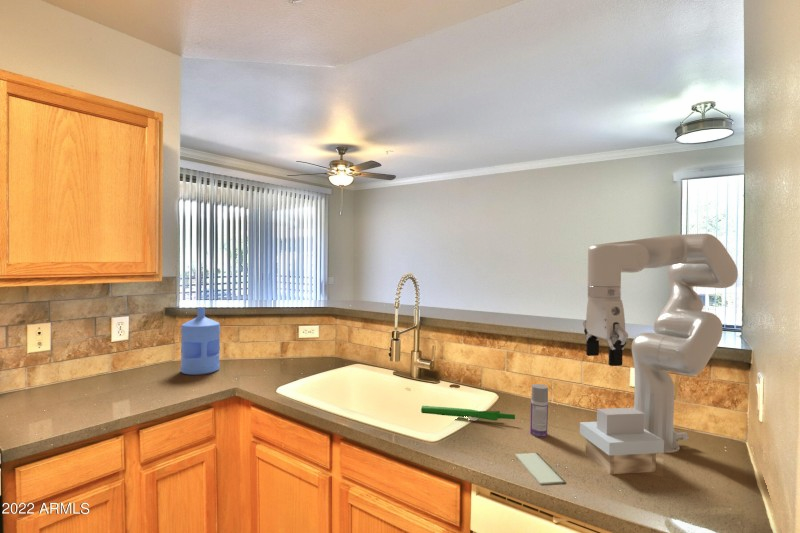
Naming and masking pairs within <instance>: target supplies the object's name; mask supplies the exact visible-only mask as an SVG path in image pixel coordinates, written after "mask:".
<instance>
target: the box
mask: <svg viewBox="0 0 800 533" xmlns="http://www.w3.org/2000/svg"><path fill="white" fill-rule="evenodd" d="M584 453H585V456H587V457H588V458H590V460H592V461H593V462H594V463H596V464H597V465H598V466H599V467H600V468H602V469H603V470H604V471H605V472H607V473H608V474H609V475H616V474H617V475H618V474H634V473H636V474H637V473H639V474H640V473H654V472H655V473H656V471H657V470H656V468H657V453H650V454H629V455H608V454H606V453H605V452H604V451H602V450H601V449H600V448H598V447H597V446H596V445H594V444H593V443H592V442H590V441H589V440H588V439H586V438H585V452H584Z"/></svg>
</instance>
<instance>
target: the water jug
mask: <svg viewBox="0 0 800 533" xmlns="http://www.w3.org/2000/svg"><path fill="white" fill-rule="evenodd" d="M205 310H206V307H197V311H196V314H197V316H196V317H195V318H193V319H191V320H189V321H186V322H184V323H183V324H181V328H180V334H181V337H180V338H181V340H180V341H181V345H180V356H181V358H180V359H181V360H180V364H181V365H180V372H181V373H182V374H184V375H189V376H199V375H205V374H211V373H214V372H217V371H218V370H219V369H220V367H221V366H220V365H221V363H220V351H221V344H220V341H221V340H220V337H221V336H220V335H221V334H220V333H221V326H220V322H218V321H216V320H213V319H211V318H208V317H207V316H206V315H205V314H206V311H205Z"/></svg>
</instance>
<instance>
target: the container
mask: <svg viewBox="0 0 800 533" xmlns="http://www.w3.org/2000/svg"><path fill="white" fill-rule="evenodd" d="M530 397H531V398H530V427H529V428H530V430H529V431H530V435H531V436H532V437H535V438H540V439H541V438H543V439H544V438H547V437H548V424H549V423H548V422H549V421H548V420H549V418H548V415H549V387H548V385H545V384H541V383H539V384H538V383H536V384H535V383H534V384H532V385H531V396H530Z"/></svg>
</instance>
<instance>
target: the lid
mask: <svg viewBox="0 0 800 533" xmlns="http://www.w3.org/2000/svg"><path fill="white" fill-rule="evenodd" d="M579 434H580V435H581V436H582V437H584V438H585V440H586V439H588V440H589V441H590V442H592V443H593V444H594V445H596V446H597V447H598V448H600V449H601V450H602V451H604V452H605V453H606V454H608V455H629V454H650V453H656V454H664V440H663V439H661V438H659V437H657V436H656V435H654V434H652V433H650V432H648V431H647V430H645V429H644V413H642V412H640V411H638V410H637V409H635V408H634V407H620V408H619V407H617V408H616V407H615V408H614V407H613V408H611V407H610V408H597V409H596V421H581V422H579Z"/></svg>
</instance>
